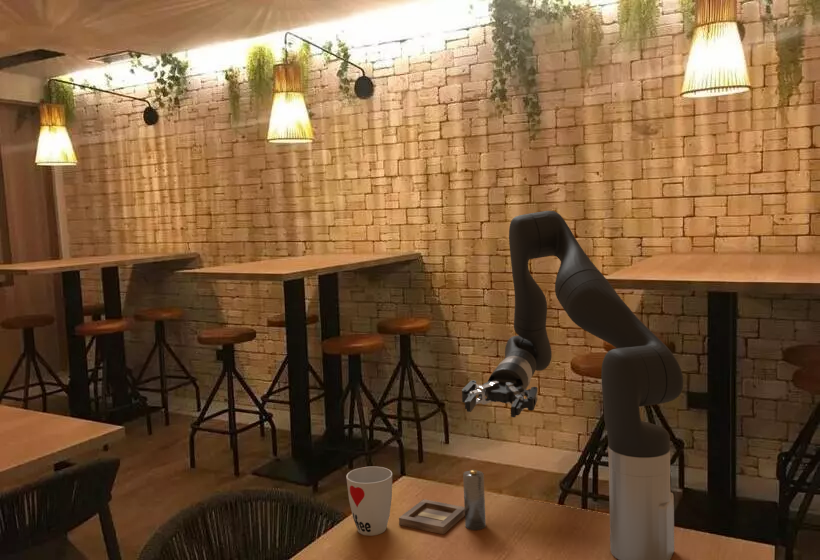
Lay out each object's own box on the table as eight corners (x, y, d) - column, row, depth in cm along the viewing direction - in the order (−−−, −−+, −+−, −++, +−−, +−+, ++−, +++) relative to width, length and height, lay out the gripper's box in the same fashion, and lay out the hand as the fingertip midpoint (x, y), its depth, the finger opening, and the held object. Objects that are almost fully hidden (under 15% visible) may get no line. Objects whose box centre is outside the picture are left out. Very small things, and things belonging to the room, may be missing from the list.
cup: (343, 525, 125) (340, 471, 124) (384, 515, 128) (381, 463, 127) (358, 543, 117) (355, 486, 117) (402, 532, 121) (399, 477, 120)
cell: (488, 523, 123) (486, 468, 122) (480, 531, 120) (478, 475, 119) (470, 519, 125) (468, 465, 124) (461, 527, 122) (459, 472, 121)
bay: (466, 514, 127) (466, 507, 127) (443, 534, 119) (443, 527, 119) (423, 505, 132) (423, 499, 132) (399, 524, 124) (398, 517, 124)
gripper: (477, 358, 145) (453, 387, 131) (545, 364, 140) (528, 395, 125) (478, 391, 147) (454, 423, 132) (545, 399, 142) (528, 433, 127)
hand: (490, 409), depth 129 cm, fingers open, 8 cm apart
